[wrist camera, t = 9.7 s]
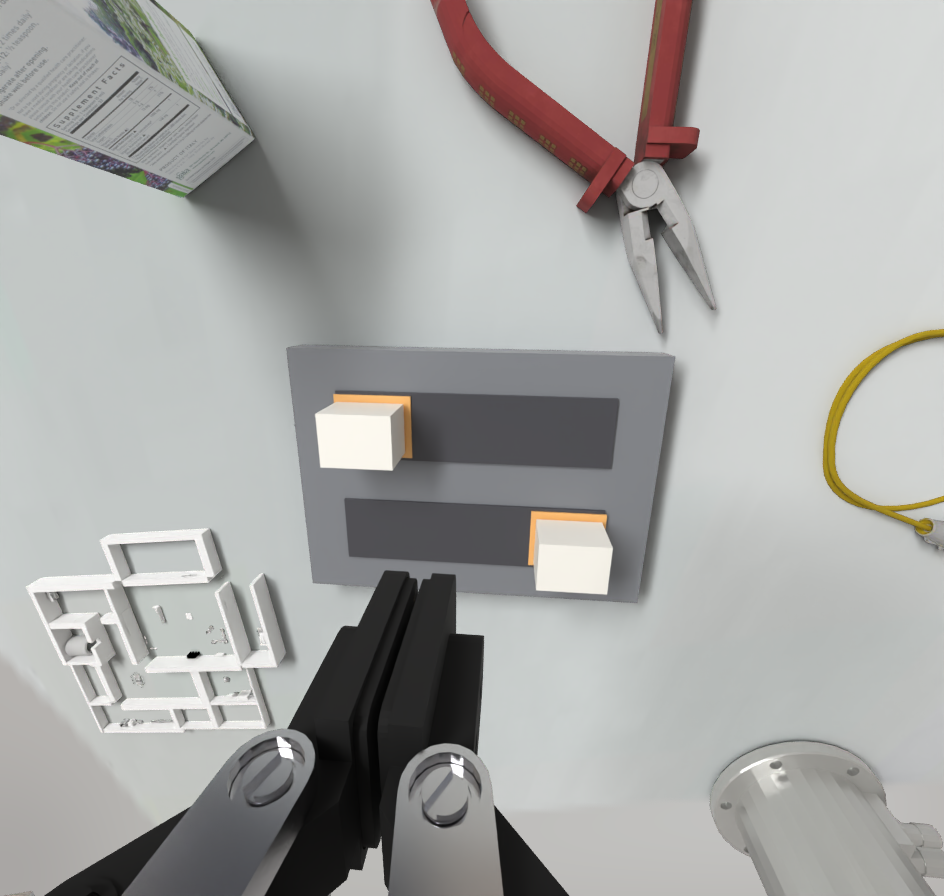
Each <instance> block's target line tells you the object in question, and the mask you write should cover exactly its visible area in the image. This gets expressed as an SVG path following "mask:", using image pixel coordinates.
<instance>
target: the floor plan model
mask: <svg viewBox="0 0 944 896" xmlns="http://www.w3.org/2000/svg"><path fill="white" fill-rule="evenodd" d="M181 540H195V543H196V546H197V549H198V552H199V555H200V558H201V561H202V564H203V567H204V570H201V571H181V572H160V573H139V574H131V572H130V569H129V567H128V564H127V561H126V559H125V556H124V554H123V551H122V548H121V546H120V544H128V543H146V542H164V541H181ZM100 543H101V545H102V548H103V550H104V553H105V555H106V558H107V560H108V563H109V565H110V568H111V570H112V573H113V574H101V575H80V576H60V577H42V578H40V579H38V580H36V581H35V582H33V583H31V584H30V585H28V586H26V588H27V591H28V593H29V594H30V596H31V598H32V600H33V602H34V604H35V607H36V609H37V611H38V613H39V615H40V617H41V619H42V621H43V624H44V626H45V628H46V630H47V632H48V634H49V636H50V638H51V640H52V643H53V645H54V647H55V649H56V651H57V653H58V655H59V657H60V659H61V662H62V664H63V665H70V667H71V669H72V672H73V674H74V676H75V678H76V680H77V682H78V684H79V687H80V689H81V691H82V693H83V695H84V697H85V699H86V702H87V704H88V706H89V708H90V710H91V712H92V714H93V717H94V719H95V721H96V723H97V725H98V727H99V729H100V731H101V733H120V732H130V733H148V732H185V731H186V730H187V729H267V727H268V725H269V723H270V719H269V715H268V712H267V709H266V706H265V703H264V699H263V696H262V694H261V691H260V687H259V684H258V681H257V678H256V675H255V671H254V668H262V667H278V665H279V664H280V662H281V661H282V659H283V657H284V656H285V654H286V651H285V647H284V644H283V640H282V637H281V633H280V630H279V626H278V622H277V619H276V615H275V612H274V608H273V605H272V601H271V598H270V594H269V591H268V587H267V583H266V580H265V576H264V573H263V574H259V575H258V576H257V577H256V578H255V580H254V581H253V582H252V583H251V584H250V585H249V586H250V589H251V593H252V596H253V599H254V603H255V606H256V609H257V613H258V616H259V620H260V623H261V626H262V627H261V628H257V629H258V633H259V638H260V642H261V643H264V644H261V643H260V645H267V647H268V650H252V651H251V648H250V645H249V641H248V638H247V635H246V632H245V629H244V625H243V622H242V619H241V616H240V612H239V609H238V606H237V603H236V600H235V596H234V593H233V590H232V587H231V584H230V581H228V582H225V583H224V584H223V585H222V586H221V587H220V588H219V589H218V590H217V591H216V592H215V596H216V599H217V602H218V605H219V608H220V611H221V614H222V617H223V621H224V624H225V627H226V630H227V633H228V636H229V639H230V642H231V645H232V648H233V651H234V654H235V655H223V654H224V653H217V654H216V655H199V654H200V653H199V652H198V653H197V652H195V653H194V651H193V652H192V653H191V652H190V653H189V654H188V655H187V656H158V657H155V658H154V659H153V660H152V661H151V662H150V663H149V664H148V665H147V666H146V667H145V671H146V673H158V672H190V673H191V676H192V679H193V681H194V684H195V687H196V690H197V692H198V695H199V697H182V698H126V699H125V701H124V702H123V703H122V704H121V705H120V706H121V708H122V710H169V711H170V714H171V716H172V719H173V720H151V723H142V722H143V721H142V720H137V721H136V719H131V720H130V719H124V720H123V721H122V722H121V723H109V722H108V720H107V718H106V716H105V713H104V711H103V709H102V707H101V705H112V704H113V703H114V702H117V701H118V700H119V699H120V698H121V697H122V693H121V691H120V689H119V686H118V684H117V682H116V680H115V677H114V675H113V673H112V670H111V668H110V666H109V663H108V661H109V660H110V659H111V658H112V657H113V656H114V655H115V654H116V653H115V651H114V649H113V646H112V644H111V642H110V639H109V636H108V634H107V632H106V629H105V627H104V625H103V624H117V625H118V628H119V631H120V633H121V636H122V638H123V641H124V644H125V646H126V649H127V651H128V654H129V657H130V659H131V662H132V664H133V665H138V664H139V663H140V662H141V661H142V660H143V659H144V658H145V657H146V656H147V655H148V654H149V651H148V649H147V646H146V644H148V643H147V640H146V641H144V639H146V637H145V636H144V639H143V636H142V634H141V631H140V629H139V626H138V623H137V621H136V618H135V616H134V613H133V611H132V608H131V606H130V603H129V601H128V598H127V596H126V593H125V591H124V588H123V586H146V585H168V584H190V583H209V582H210V581H211V580H212V579H213V578H214V577H215V576H216V575H217V574H218V573H219V572H220V571H221V570H222V567H221V563H220V560H219V557H218V554H217V551H216V548H215V544H214V541H213V538H212V535H211V532H210V528H207V529H190V530H173V531H156V532H139V533H122V534H110V535H108V536H106V537H104V538H103V539H101V540H100ZM222 577H223V576H222ZM222 577H221V578H222ZM122 584H123V586H122ZM102 589H104V592H105V594H106V597H107V600H108V602H109V605H110V607H111V610H112V612H113V613H106V614H105V615H104V616H102V617H101V618H100V615H99V613H98V612H97V613H66V614H63V613H62V610H61V608H60V606H59V604H58V602H57V599H58V598H59V596H58V594H57V593H56V592H57V591H80V590H102ZM152 608H155V610H156V612H157V614H158V615H159V617H160V619H161V621H162V623H163V624H164V623H165V622H166V621H165V618H164V615H163V613H162V610H161V607H160V606H154V607H152ZM185 614H186V617H187V619H193V618H192V615H191V613H185ZM74 628H75V629H82V630H83V632H84V635H74V636H73V635H72V633H71V630H70V629H74ZM212 629H214V627H213V626H210V627H209V630H207V631H206V633H209V634H210V633H211V630H212ZM220 631H221V632H222V637H223V638H224V640H220V639H218V640H214V639H213V640H212V642H211V643H212V644H215V642H219V643H221V642H224V643H225V644H226V643H227V642H228V641H227V639H226V635H225V634H224V629H223V628H221V629H220ZM95 640H96V641H97V643H96V644H95V645H94V646H93V647H92V648H91V650H87V644H88V643H93V642H94V641H95ZM145 642H146V644H145ZM91 645H92V644H91ZM150 649H153V648H150ZM154 649H157V648H154ZM83 665H90V666H94V667H95V669H96V671H97V674H98V676H99V678H100V680H101V683H102V685H103V687H104V689H105V691H106V694H107V696H97V695H96V693H95V691H94V689H93V687H92V685H91V682H90V680H89V678H88V676H87V674H86V671H85V669H84V667H83ZM243 668H246V671H247V675H248V679H249V683H250V686H251V689H252V690H241V692H240V693H239V692H234V694H228V695H227V696H215V695H214V692H213V689H212V686H211V684H210V681H209V678H208V675H207V672H206V671H242V670H243ZM133 675H134V678H135V680H136V682H137V685H144V684H145V683H144V684H143V683H142V680H141V678H140V676H139V674H133ZM131 676H132V675H131ZM131 678H132V677H131ZM132 680H133V679H132ZM229 680H230V678H229V679H228V677H224V683H225V682H229ZM133 681H134V680H133ZM134 683H135V682H134ZM134 683H133V684H134ZM141 688H142V687H141ZM218 705H257V706H258V709H259V712H260V716H261V719H262V721H223V718H222V715H221V712H220V710H219V707H218ZM181 709H183V710H185V709H207V712H208V714H209V717H210V720H211V721H185V718H184V716H183V713H182V711H181Z"/></svg>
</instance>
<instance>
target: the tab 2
mask: <svg viewBox="0 0 944 896" xmlns="http://www.w3.org/2000/svg"><path fill="white" fill-rule="evenodd" d="M612 551H613V547H612V545H611V542H610V540H609V538H608V535H607V533H606V531H605V528H604V526H603V523H602V522H583V521H562V520H542V519H536V529H535V544H534V559H533V563H534V574H535V584H536V590H539V591H556V592H572V593H589V594H605V595H607V591H608V583H609V575H610V567H611V559H612Z"/></svg>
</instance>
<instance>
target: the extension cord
mask: <svg viewBox="0 0 944 896" xmlns="http://www.w3.org/2000/svg"><path fill="white" fill-rule="evenodd" d="M935 337H944V329H939V330H929V331H924V332H920V333H916V334H913V335H911V336H908V337H906V338H903V339H901V340H899V341H897V342H895V343H892V344H890V345H888V346H885V347H883V348H882V349H880V350H878V351H876V352H874V353H873V354H871V355H870V356H869V357H867V358H866V359H865V360H863V361H862V362H861V363H860V364H859V365H858V366H857V367H856V368H855V369H854V370H853V371H852V372H851V373H850V375H849V376H848V377H847V378H846V380H845V381H844V383H843V384H842V386H841V387H840V389H839V391H838V393H837V395H836V397H835V399H834V401H833V404H832V407H831V409H830V412H829V416H828V420H827V424H826V430H825V436H824V448H823V470H824V476H825V479H826V481H827V483H828V485H829V486H830V488H831V489H832V491H833V492H834V493H835V494H837V495H838V496H839V497H840V498H841V499H843V500H845V501H846V502H848V503H850V504H853V505H855V506H858V507H862V508H866V509H870V510H876V511H878V512H880V513H883V514H885V515H888V516H890V517H893V518H895V519H898V520H901V521H903V522H906V523H908V524H911V525H913V526H915V531H916V533H917V534H918V535H920V536H923V537H924V540H925V542H927V543H931V544H935V545H936V546H938V550H942V549H944V521H938V520H932V519H929V518H924V519H921V520H919V521H916V520H913V519H910V518H908V517H905V516H903V515H900V514H898V513H895V512H892V511H902V510H911V509H917V508H922V507H927V506H931V505H934V504H937V503H941V502H944V496H942V497H939V498H935V499H932V500H929V501H925V502H920V503H915V504H909V505H900V506H879V505H876V504H873V503H871V502H869V501H867V500H865V499H863V498H861V497H859V496H858V495H856V494H854V493H853V492H852V491H850V490H849V489H848V488H847V487H846V486H845V485H844V484H843V483H842V482H841V480H840V478H839V477H838V474H837V471H836V466H835V443H836V436H837V431H838V427H839V424H840V420H841V417H842V415H843V412H844V410H845V407H846V405H847V403H848V401H849V399H850V398H851V396H852V394H853V392H854V391H855V389H856V388H857V386H858V385H859V384H860V382H861V381H862V379H863V378H864V377H865V376H866V375H867V374H868V372H869V371H870V370H871V369H872V368H873V367H874V366H875V365H876V364H877V363H879V362H880V361H881V360H882V359H883V358H884V357H886V356H887V355H888V354H890V353H891V352H892V351H894V350H896V349H897V348H899V347H901V346H905V345H908V344H911V343H914V342H917V341H921V340H926V339H930V338H935ZM833 480H834V481H833ZM834 482H835V483H834ZM836 485H837V486H838V487H837V486H836ZM926 539H927V541H926Z"/></svg>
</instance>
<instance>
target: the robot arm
mask: <svg viewBox="0 0 944 896" xmlns="http://www.w3.org/2000/svg"><path fill="white" fill-rule="evenodd" d="M483 656H484V636H480V635H466V634H456V575H455V574H440V573H432V575H431V579H423V580H422V583H421V586H420V589H419V592H418V582H417V579H416V578H410V574H409V572H407V571H391V570H385V571H384V573H383V575H382V577H381V579H380V581H379V583H378V585H377V587H376V589H375V591H374V593H373V596H372V598H371V600H370V602H369V604H368V606H367V608H366V610H365V612H364V614H363V616H362V619H361V621H360V623H359V625H358V627H354V626H344V627H342V628H341V629H340V631H339V632H338V634H337V636H336V638H335V640H334V642H333V643H332V645H331V647H330V649H329V651H328V653H327V655H326V657H325V659H324V660H323V662H322V664H321V666H320V668H319V670H318V672H317V674H316V676H315V677H314V679H313V681H312V683H311V685H310V687H309V689H308V691H307V693H306V694H305V696H304V698H303V700H302V702H301V704H300V706H299V708H298V710H297V712H296V713H295V715H294V717H293V719H292V721H291V723H290V725H289V727H288V729H278V730H273V731H268V732H265V733H263V734H261V735H258V736H256V737H254V738H252V739H251V740H249V741H248V742H247V743H245V744H244V745H242V746H241V747H240V748H239V749H238V750H237V751H236V752H235V753H234V754H233V755H232V756H231V757H230V758H229V759H228V760H227V761H226V763H225V764H224V765H223V767H222V768H221V769H220V770H219V772H218V773H217V774H216V776H215V777H214V778H213V779H212V781H211V782H210V783H209V784H208V786H207V787H206V788H205V790H204V791H203V792H202V793H201V795H200V796H199V797H198V798H197V800H196V801H195V802H194V804H193V805H192V806H191V807H189V808H187V809H186V810H184V811H182V812H181V813H179V814H177V815H176V816H174V817H172V818H170V819H169V820H167V821H165V822H164V823H162V824H160V825H159V826H157V827H155V828H154V829H152V830H150V831H149V832H147V833H145V834H144V835H142V836H140V837H138V838H137V839H135V840H134V841H132V842H130V843H128V844H127V845H125V846H123V847H122V848H120V849H118V850H117V851H115V852H113V853H112V854H110V855H108V856H106V857H105V858H103V859H101V860H100V861H98V862H96V863H95V864H93V865H91V866H90V867H88V868H86V869H85V870H83V871H81V872H80V873H78V874H76V875H74V876H73V877H71V878H69V879H68V880H66V881H65V882H63V883H62V884H60V885H59V886H57V887H56V888H55V889H53V890H52V891H51V892H49V893H47V894H46V895H45V896H331V892H333V891H334V890H335V889H336V888H337V887H339V886H340V885H341V884H342V883H343V882H344V881H346V880H347V877H348V873H349V870H350V869H355V870H362V869H363V865H364V861H365V858H366V854H367V850H368V848H377V847H378V845H379V842H380V839H381V837H382V853H383V867H384V881H385V885H386V887H387V889H388V891H389V892H388V896H569V895H568V894H567V892H566V891H565V890H564V889H563V888H562V886H561V885H560V884H559V883H558V882H557V880H556V879H555V878H554V877H553V876H552V874H551V873H550V872H549V871H548V869H547V868H546V867H545V866H544V865H543V863H542V862H541V861H540V860H539V859H538V857H537V856H536V855H535V854H534V853H533V851H532V850H531V849H530V848H529V846H528V845H527V844H526V843H525V842H524V840H523V839H522V838H521V837H520V836H519V835H518V833H517V832H516V831H515V830H514V828H513V827H512V826H511V825H510V823H509V822H508V821H507V820H506V819H505V817H504V816H503V815H502V814H501V813H500V811H499V810H498V809H497V808H496V807H495V805H494V801H493V792H492V784H491V780H490V776H489V772H488V770H487V768H486V766H485V765H484V763H483V762H482V760H481V758H479V757H478V756H477V753H478V739H479V726H480V713H481V699H482V681H483ZM710 809H711V813H712V817H713V819H714V821H715V824H716V826H717V828H718V831H719V833H720V834H721V835H722V837H723V838H724V839H725V841H727V842H728V843H729V844H730V845H731V846H732V847H733V848H735V849H736V850H738V851H740V852H741V853H743V854H745V855H747V856H750V857H751V859H752V861H753V863H754V865H755V868H756V870H757V872H758V875H759V877H760V879H761V881H762V884H763V886H764V888H765V891H766V893H767V895H768V896H936V895H935V894H934V892H933V891H932V890H931V888H930V887H929V885H928V884H927V883H926V881H925V880H924V879H923V877H922V876H925V877H935V878H944V852H943V851H942V850H941V848H942V845H943V842H942V839H941V836H940V834H939V833H938V831H937V830H936V829H935V828H934V827H933V826H932V825H929V824H920V823H909V824H908V823H901V822H900V821H899V820H897V819H896V818H894V816H893V815H892V814H891V812H890V811H889V810H888V808H887V807H886V794H885V792H884V789H883V787H882V784H881V783H880V781H879V780H878V779H877V777H876V776H875V775H874V773H873V772H872V771H871V769H870V768H869V767H868V766H867V765H866V764H865V763H864V762H863V761H862V760H861V759H859V758H858V757H856V756H855V755H853V754H852V753H850V752H848V751H846V750H843V749H841V748H838V747H836V746H832V745H827V744H823V743H818V742H806V741H797V742H783V743H778V744H773V745H768V746H765V747H762V748H759V749H756V750H754V751H752V752H750V753H748V754H745V755H743V756H741V757H740V758H738V759H737V760H736V761H734V762H733V763H731V764H730V765H729V766H728V767H727V768H726V769H725V770H724V771H723V772H722V773H721V774H720V776H719V777H718V779H717V780H716V782H715V784H714V785H713V788H712V791H711V795H710ZM5 896H35V895H34V893H33V891H29V892H23V893H18V894H12V895H5Z"/></svg>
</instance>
